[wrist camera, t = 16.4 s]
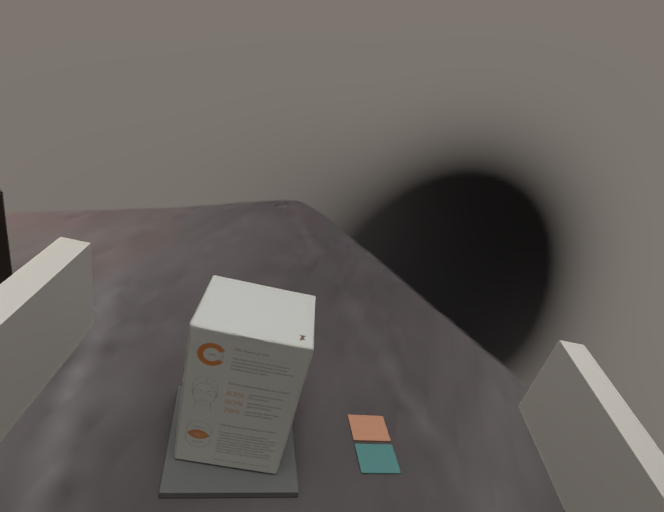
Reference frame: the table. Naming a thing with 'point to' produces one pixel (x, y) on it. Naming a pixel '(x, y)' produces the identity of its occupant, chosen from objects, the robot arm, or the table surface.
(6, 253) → the coffee box
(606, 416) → the robot arm
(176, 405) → the gray slab
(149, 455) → the table surface
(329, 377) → the table surface
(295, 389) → the small box
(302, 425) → the table surface
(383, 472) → the tiles
